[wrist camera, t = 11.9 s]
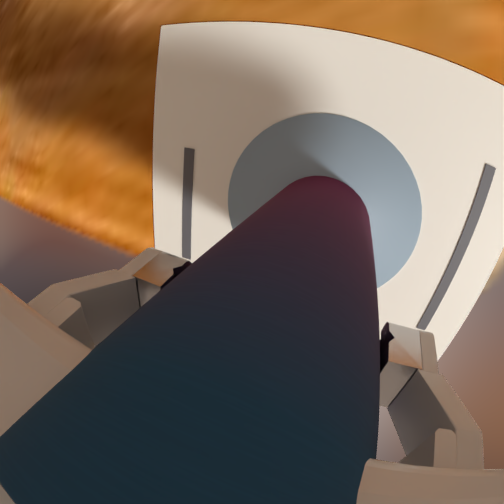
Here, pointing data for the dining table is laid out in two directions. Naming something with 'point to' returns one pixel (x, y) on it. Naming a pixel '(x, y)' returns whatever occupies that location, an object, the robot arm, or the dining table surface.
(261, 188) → the paper sheet
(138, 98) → the dining table surface
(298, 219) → the cup
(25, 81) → the dining table surface
